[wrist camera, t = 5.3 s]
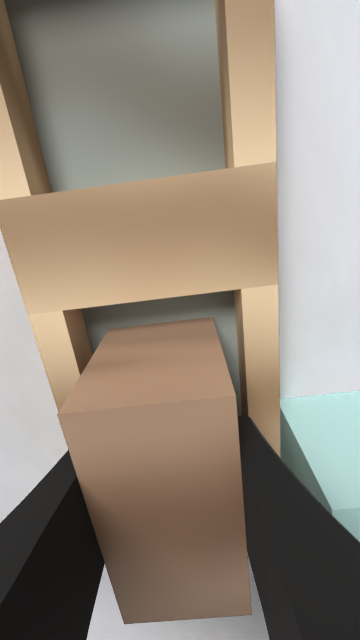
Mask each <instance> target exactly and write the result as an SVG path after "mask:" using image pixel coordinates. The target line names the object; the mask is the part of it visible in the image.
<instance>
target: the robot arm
mask: <svg viewBox="0 0 360 640" xmlns="http://www.w3.org/2000/svg"><path fill="white" fill-rule="evenodd" d="M237 417H238V431H239V445H240V459H241V473H242V487H243V500H244V514H245V528H246V542H247V552H248V556H249V559H250V563H251V567H252V571H253V575H254V578H255V582H256V586H257V590H258V594H259V597H260V601H261V605H262V609H263V613H264V617H265V621H266V626H267V630H268V634H269V639H270V640H360V542H359V541H358V540H357V539H356V538H355V537H354V536H353V535H352V534H351V533H350V532H349V531H348V530H347V529H346V528H345V527H344V526H343V525H342V524H341V523H340V522H339V521H338V520H337V519H336V518H335V517H334V516H333V515H332V514H331V513H330V512H329V511H328V510H327V509H326V508H325V507H324V506H323V505H322V504H321V503H320V502H319V501H318V500H317V499H316V498H315V497H314V496H313V495H312V493H311V492H310V491H309V490H308V489H307V488H306V487H305V486H304V485H303V484H302V483H301V481H300V480H299V479H298V478H297V477H296V476H295V475H294V473H293V472H292V471H291V470H290V469H289V468H288V466H287V465H286V464H285V463H284V462H283V461H282V459H281V458H280V457H279V456H278V454H277V453H276V452H275V451H274V449H273V448H272V447H271V446H270V444H269V443H268V442H267V440H266V439H265V438H264V436H263V435H262V434H261V432H260V431H259V429H258V428H257V426H256V425H255V424H254V422H253V420H252V419H251V418H250V417H249V416H248V415H243V416H237ZM104 563H105V562H104V559H103V556H102V553H101V550H100V547H99V544H98V540H97V537H96V534H95V531H94V528H93V525H92V522H91V518H90V515H89V512H88V509H87V506H86V503H85V500H84V497H83V493H82V490H81V487H80V484H79V481H78V478H77V475H76V472H75V468H74V465H73V462H72V459H71V456H70V453H69V450H68V451H67V452H66V453H65V455H64V456H63V457H62V458H61V459H60V460H59V461H58V462H57V464H56V465H55V466H54V467H53V468H52V469H51V470H50V471H49V472H48V474H47V475H46V476H45V477H44V478H43V479H42V480H41V481H40V482H39V484H38V485H37V486H36V487H35V488H34V489H33V490H32V491H31V492H30V493H29V494H28V496H27V497H26V498H25V499H24V500H23V501H22V502H21V503H20V504H19V505H18V506H17V507H16V508H15V509H14V510H13V511H12V512H11V513H10V514H9V515H8V516H7V517H6V518H5V519H4V520H3V521H2V522H1V523H0V640H86V639H87V634H88V629H89V625H90V621H91V616H92V612H93V608H94V604H95V600H96V596H97V592H98V588H99V584H100V580H101V576H102V572H103V567H104Z"/></svg>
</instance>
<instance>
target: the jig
mask: <svg viewBox="0 0 360 640" xmlns="http://www.w3.org/2000/svg"><path fill="white" fill-rule="evenodd" d="M0 229H1V232H2V235H3V238H4V242H5V245H6V248H7V251H8V254H9V257H10V261H11V264H12V267H13V270H14V273H15V276H16V279H17V283H18V286H19V289H20V292H21V295H22V298H23V302H24V305H25V308H26V311H27V314H28V317H29V320H30V324H31V327H32V330H33V333H34V336H35V339H36V343H37V346H38V349H39V352H40V355H41V358H42V362H43V365H44V368H45V371H46V374H47V377H48V380H49V384H50V387H51V390H52V393H53V396H54V399H55V403H56V406H57V409H58V412H59V411H60V409H61V407H62V406H63V404H64V402H65V401H66V399H67V397H68V396H69V394H70V392H71V391H72V389H73V387H74V386H75V384H76V382H77V381H78V379H79V377H80V376H81V374H82V372H83V371H84V369H85V367H86V366H87V364H88V362H89V361H90V359H91V357H92V356H93V354H94V352H95V351H96V349H97V347H98V346H99V344H100V342H101V341H102V339H103V338H104V336H105V334H106V333H107V331H108V329H112V328H121V327H130V326H138V325H147V324H155V323H164V322H172V321H181V320H189V319H198V318H206V317H213V320H214V324H215V327H216V330H217V334H218V337H219V340H220V344H221V347H222V351H223V354H224V357H225V361H226V364H227V367H228V371H229V374H230V377H231V381H232V384H233V387H234V391H235V394H236V404H237V416H243V415H248V416H249V417H250V418H251V419H252V420H253V422H254V424H255V425H256V426H257V428H258V429H259V431H260V432H261V434H262V435H263V436H264V438H265V439H266V440H267V442H268V443H269V444H270V446H271V447H272V448H273V449H274V451H275V452H276V453H277V454H278V456H279V457H280V458H281V456H280V383H279V309H278V236H277V162H276V89H275V15H274V0H0Z"/></svg>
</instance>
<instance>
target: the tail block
mask: <svg viewBox="0 0 360 640" xmlns="http://www.w3.org/2000/svg"><path fill="white" fill-rule="evenodd" d="M280 456H281V459H282V461H283V462H284V463H285V464H286V465H287V466H288V468H289V469H290V470H291V471H292V472H293V473H294V475H295V476H296V477H297V478H298V479H299V480H300V481H301V483H302V484H303V485H304V486H305V487H306V488H307V489H308V490H309V491H310V492H311V493H312V495H313V496H314V497H315V498H316V499H317V500H318V501H319V502H320V503H321V504H322V505H323V506H324V507H325V508H326V509H327V510H328V511H329V512H330V513H331V514H332V515H333V516H334V517H335V518H336V519H337V520H338V521H339V522H340V523H341V524H342V525H343V526H344V527H345V528H346V529H347V530H348V531H349V532H350V533H351V534H352V535H353V536H354V537H355V538H356V539H357V540H358V541H359V542H360V390H359V391H350V392H341V393H331V394H322V395H313V396H303V397H294V398H285V399H280Z"/></svg>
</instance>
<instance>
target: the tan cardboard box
mask: <svg viewBox="0 0 360 640" xmlns="http://www.w3.org/2000/svg"><path fill="white" fill-rule="evenodd" d="M57 415H58V418H59V421H60V425H61V428H62V431H63V434H64V437H65V440H66V443H67V446H68V450H69V453H70V456H71V459H72V462H73V465H74V468H75V472H76V475H77V478H78V481H79V484H80V487H81V490H82V493H83V497H84V500H85V503H86V506H87V509H88V512H89V515H90V518H91V522H92V525H93V528H94V531H95V534H96V537H97V540H98V544H99V547H100V550H101V553H102V556H103V559H104V562H105V565H106V569H107V572H108V575H109V578H110V581H111V584H112V587H113V590H114V594H115V597H116V600H117V603H118V606H119V609H120V612H121V615H122V619H123V622H124V624H133V623H146V622H160V621H174V620H188V619H201V618H215V617H229V616H243V615H252V611H251V597H250V584H249V570H248V556H247V542H246V528H245V514H244V500H243V487H242V473H241V459H240V445H239V431H238V417H237V404H236V394H235V391H234V387H233V384H232V381H231V377H230V374H229V371H228V367H227V364H226V361H225V357H224V354H223V351H222V347H221V344H220V340H219V337H218V334H217V330H216V327H215V324H214V320H213V317H206V318H198V319H189V320H181V321H172V322H164V323H155V324H147V325H138V326H130V327H121V328H112V329H108V331H107V333H106V334H105V336H104V338H103V339H102V341H101V342H100V344H99V346H98V347H97V349H96V351H95V352H94V354H93V356H92V357H91V359H90V361H89V362H88V364H87V366H86V367H85V369H84V371H83V372H82V374H81V376H80V377H79V379H78V381H77V382H76V384H75V386H74V387H73V389H72V391H71V392H70V394H69V396H68V397H67V399H66V401H65V402H64V404H63V406H62V407H61V409H60V411H59V412H58V414H57Z"/></svg>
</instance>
